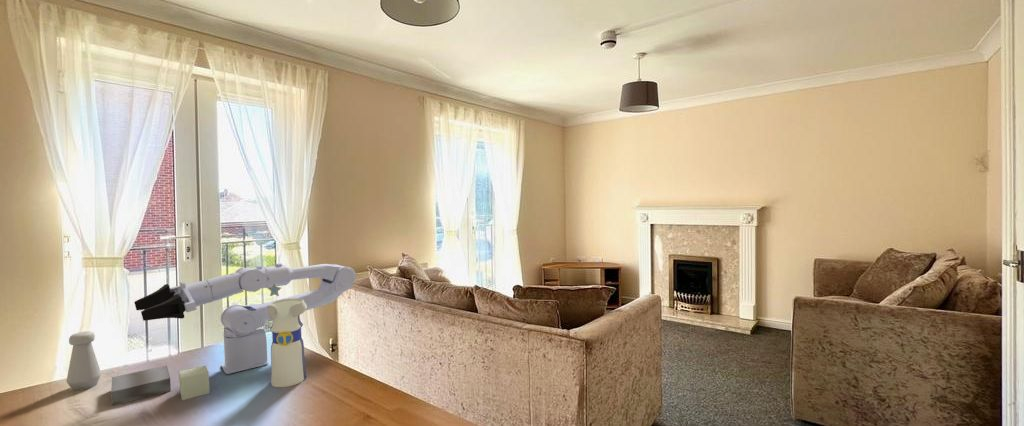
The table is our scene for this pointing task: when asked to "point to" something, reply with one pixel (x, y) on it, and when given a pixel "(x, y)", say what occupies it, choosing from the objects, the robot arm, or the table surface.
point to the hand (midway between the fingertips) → (138, 311)
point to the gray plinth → (140, 384)
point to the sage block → (194, 382)
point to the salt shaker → (83, 362)
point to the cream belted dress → (286, 340)
